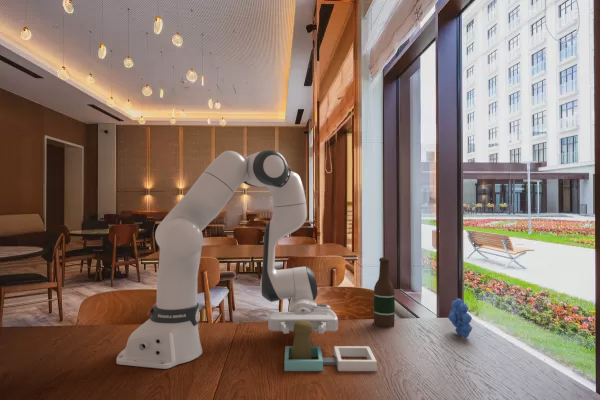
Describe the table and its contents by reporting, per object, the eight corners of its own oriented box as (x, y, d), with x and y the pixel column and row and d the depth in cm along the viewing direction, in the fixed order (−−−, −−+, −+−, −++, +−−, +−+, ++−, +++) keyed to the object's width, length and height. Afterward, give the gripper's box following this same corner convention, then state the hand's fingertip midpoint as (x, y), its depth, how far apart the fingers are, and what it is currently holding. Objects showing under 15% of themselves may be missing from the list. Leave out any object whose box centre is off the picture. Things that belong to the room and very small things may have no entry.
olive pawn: (311, 367, 96) (313, 326, 96) (288, 365, 97) (291, 324, 97) (312, 358, 102) (315, 319, 102) (291, 355, 103) (294, 317, 103)
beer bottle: (397, 323, 133) (398, 257, 133) (391, 329, 126) (391, 260, 126) (377, 319, 137) (377, 255, 137) (369, 325, 130) (370, 258, 130)
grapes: (440, 329, 126) (440, 295, 127) (459, 329, 127) (459, 295, 127) (456, 342, 115) (456, 304, 115) (477, 342, 115) (477, 304, 115)
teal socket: (284, 370, 94) (284, 361, 94) (285, 354, 104) (285, 346, 104) (322, 371, 94) (323, 361, 94) (320, 355, 104) (320, 346, 104)
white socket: (322, 371, 94) (323, 361, 94) (320, 355, 104) (320, 346, 104) (376, 371, 94) (376, 361, 94) (368, 355, 104) (368, 346, 104)
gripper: (269, 305, 113) (265, 319, 99) (335, 305, 113) (340, 319, 99) (269, 325, 113) (265, 342, 99) (334, 325, 113) (340, 342, 99)
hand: (303, 331), depth 99 cm, fingers open, 8 cm apart
